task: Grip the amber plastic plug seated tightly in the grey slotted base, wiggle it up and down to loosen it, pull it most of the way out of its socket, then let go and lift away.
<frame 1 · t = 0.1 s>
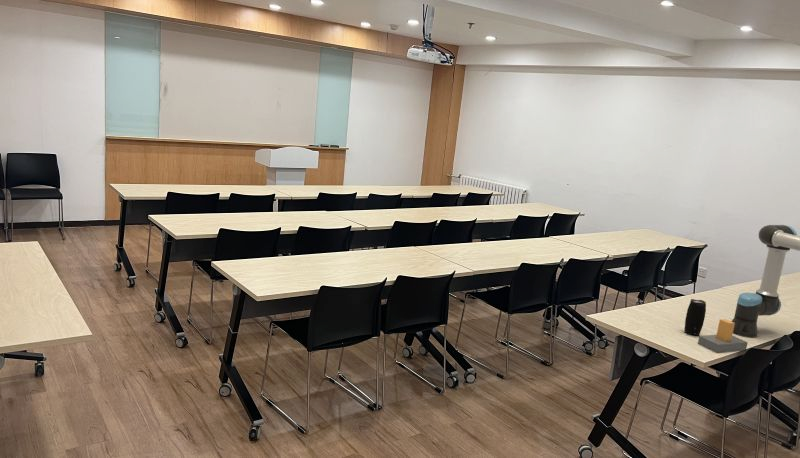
plug: (724, 333, 318), point 8 cm above the table, slide at 0.0 cm
portable speaker: (691, 333, 337), on the table
grey slotted base: (721, 346, 320), on the table
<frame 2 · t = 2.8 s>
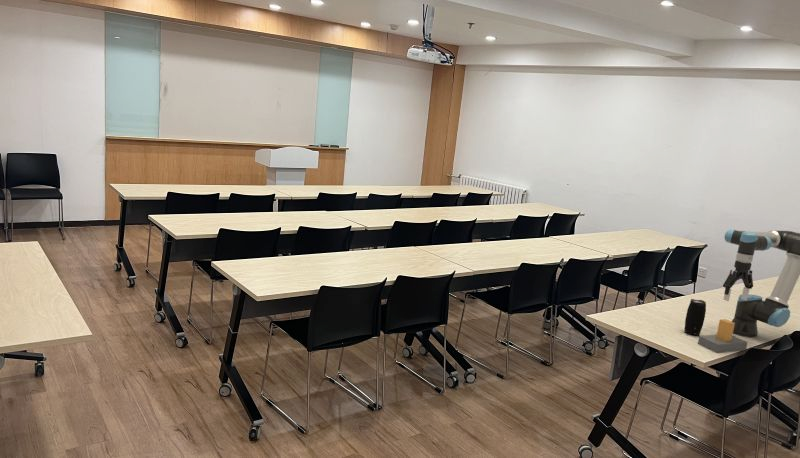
hand: (734, 300, 314), 27 cm above the table, fingers open, 13 cm apart
nothing on the table moved.
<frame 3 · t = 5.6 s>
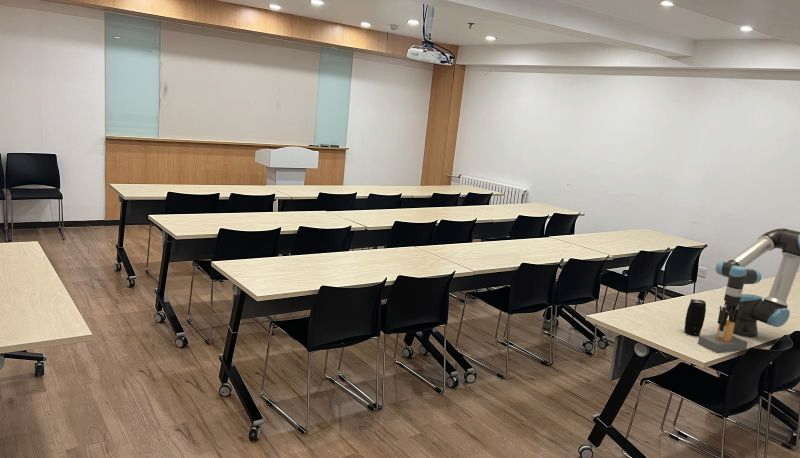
hand: (724, 336, 319), 6 cm above the table, fingers closed on plug, 4 cm apart
plug: (724, 333, 318), point 8 cm above the table, slide at 0.0 cm, touching gripper
everything else where it was.
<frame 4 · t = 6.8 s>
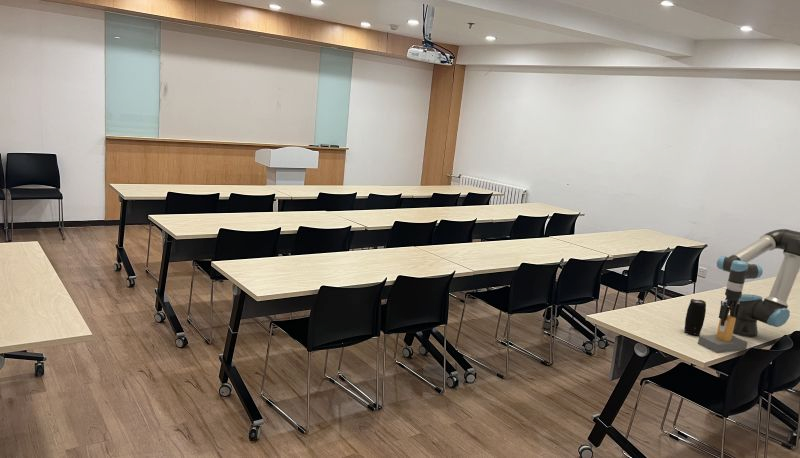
hand: (725, 331, 318), 9 cm above the table, fingers closed on plug, 4 cm apart
plug: (725, 328, 318), point 11 cm above the table, slide at 3.0 cm, touching gripper
everything else where it was.
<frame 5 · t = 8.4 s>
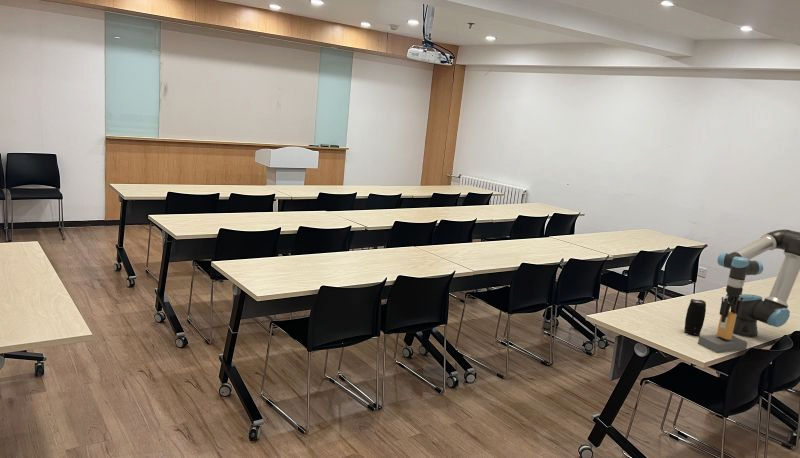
hand: (725, 327, 318), 11 cm above the table, fingers closed on plug, 4 cm apart
plug: (726, 324, 317), point 13 cm above the table, slide at 5.0 cm, touching gripper
everything else where it was.
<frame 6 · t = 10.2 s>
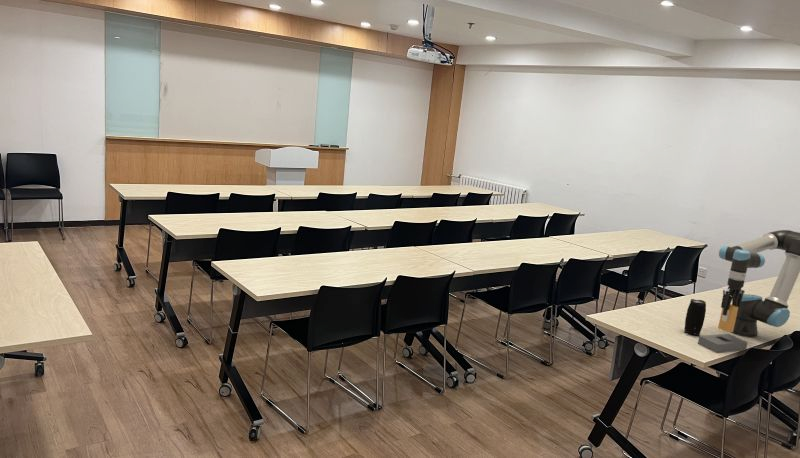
hand: (727, 320, 317), 15 cm above the table, fingers closed on plug, 4 cm apart
plug: (728, 317, 316), point 17 cm above the table, slide at 8.9 cm, touching gripper
everything else where it was.
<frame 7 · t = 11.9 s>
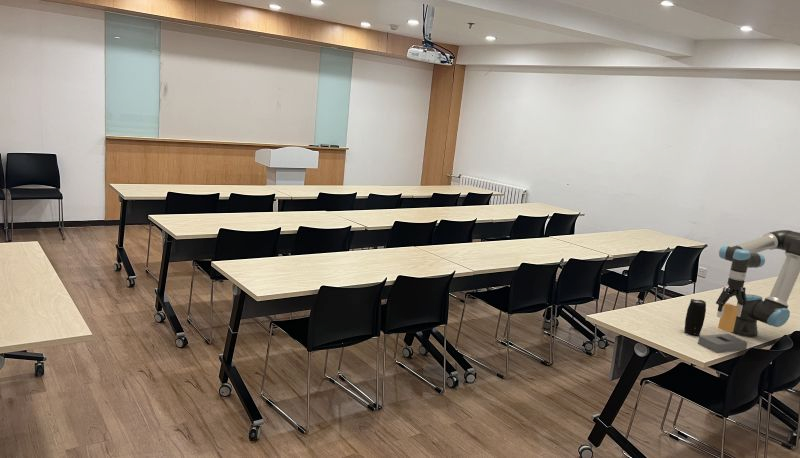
hand: (728, 316, 316), 17 cm above the table, fingers open, 13 cm apart
plug: (728, 317, 316), point 17 cm above the table, slide at 9.0 cm
everything else where it was.
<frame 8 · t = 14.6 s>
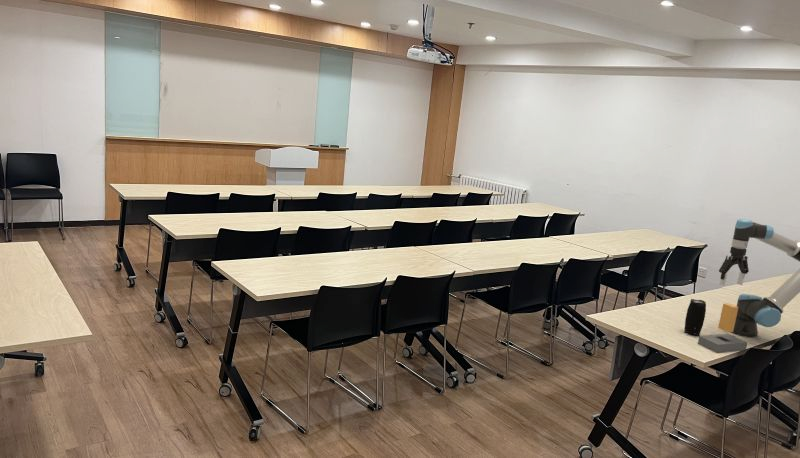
hand: (730, 284, 326), 32 cm above the table, fingers open, 13 cm apart
nothing on the table moved.
at the end: plug slide at 9.0 cm; the gripper is holding nothing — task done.
